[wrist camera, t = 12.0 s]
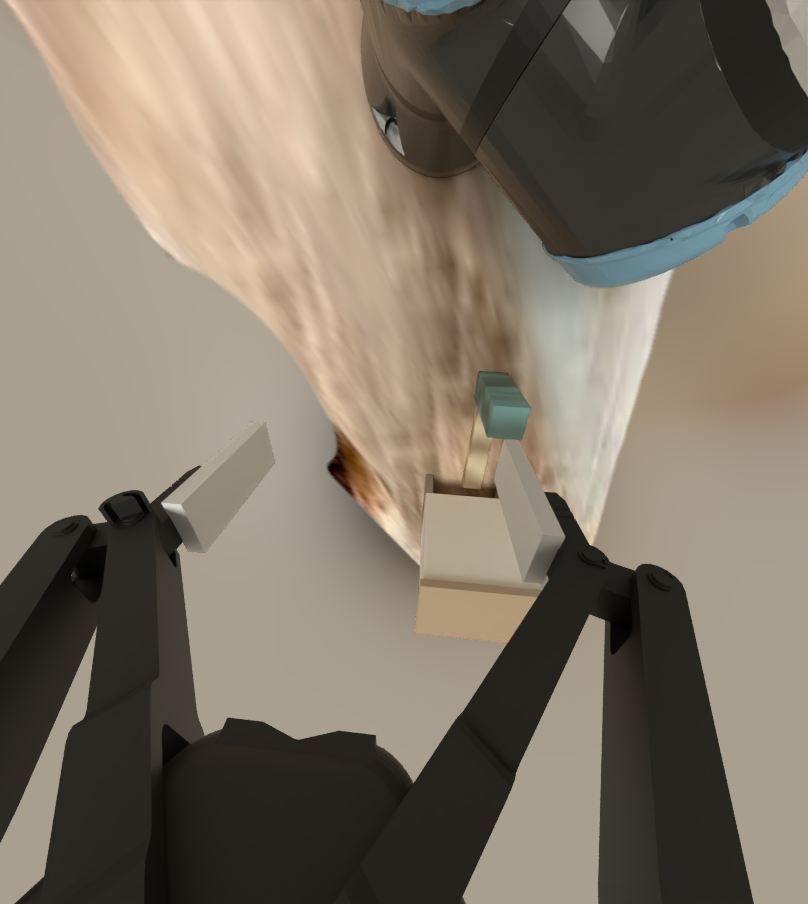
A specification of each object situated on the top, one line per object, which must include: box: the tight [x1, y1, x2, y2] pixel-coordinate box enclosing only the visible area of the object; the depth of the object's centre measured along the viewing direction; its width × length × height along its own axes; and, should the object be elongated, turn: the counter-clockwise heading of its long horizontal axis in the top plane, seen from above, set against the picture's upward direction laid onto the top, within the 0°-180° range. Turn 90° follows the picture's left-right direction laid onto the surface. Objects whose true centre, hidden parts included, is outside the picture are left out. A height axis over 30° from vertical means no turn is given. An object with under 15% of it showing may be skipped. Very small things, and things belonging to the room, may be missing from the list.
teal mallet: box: [462, 371, 531, 489], centre depth 43 cm, size 20×4×12 cm, turn 178°
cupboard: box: [415, 474, 542, 643], centre depth 46 cm, size 11×15×22 cm
